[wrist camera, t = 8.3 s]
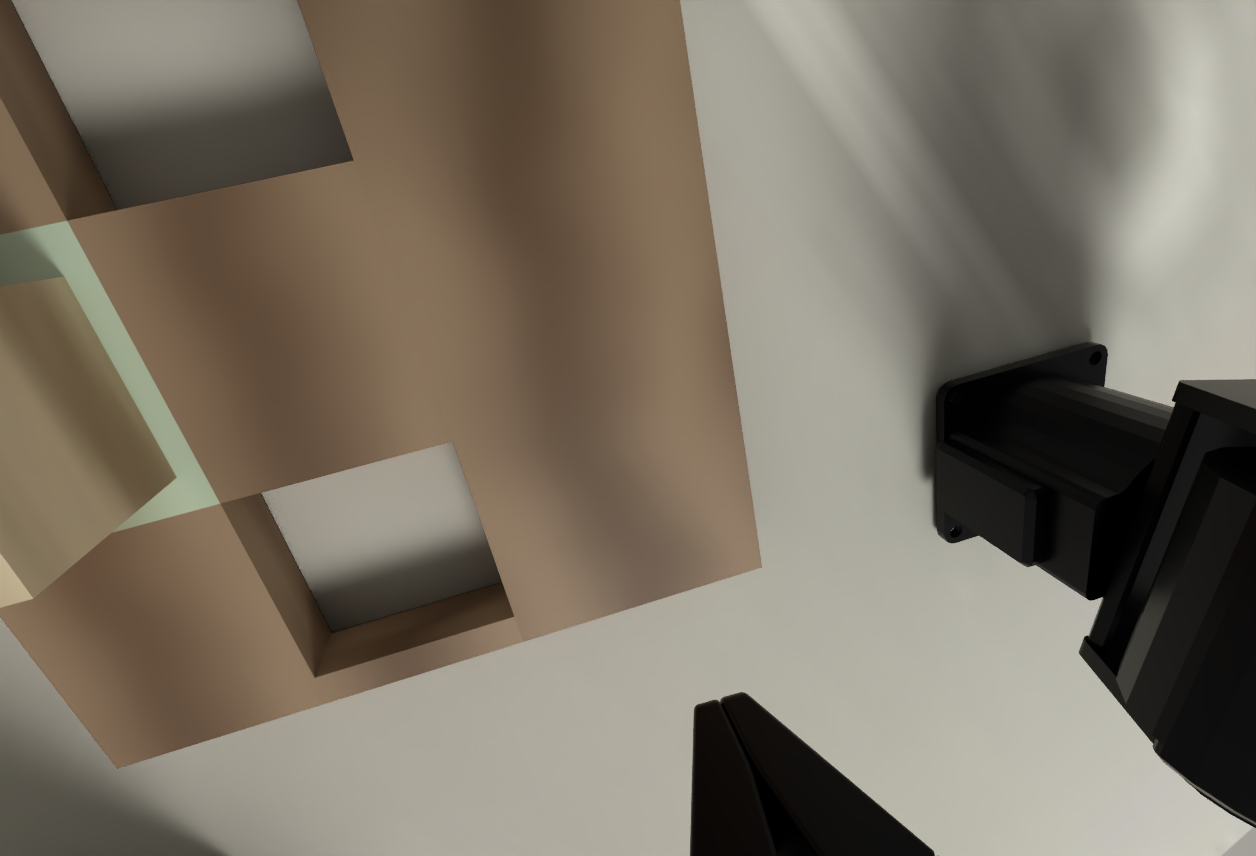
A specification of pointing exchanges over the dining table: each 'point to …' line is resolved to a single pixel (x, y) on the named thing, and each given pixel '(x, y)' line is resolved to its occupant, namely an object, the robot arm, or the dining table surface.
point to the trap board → (395, 355)
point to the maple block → (63, 440)
